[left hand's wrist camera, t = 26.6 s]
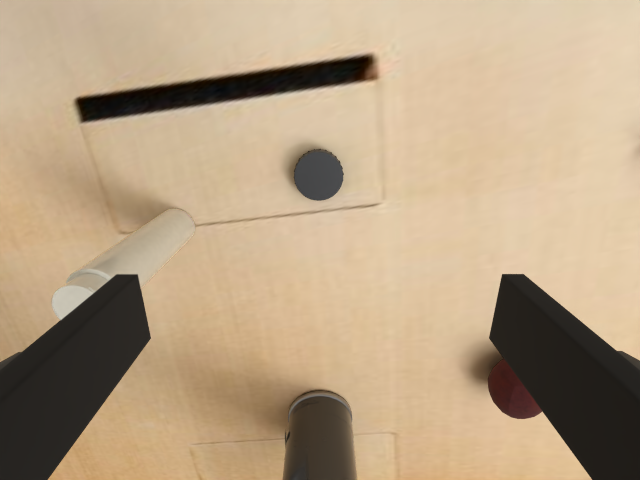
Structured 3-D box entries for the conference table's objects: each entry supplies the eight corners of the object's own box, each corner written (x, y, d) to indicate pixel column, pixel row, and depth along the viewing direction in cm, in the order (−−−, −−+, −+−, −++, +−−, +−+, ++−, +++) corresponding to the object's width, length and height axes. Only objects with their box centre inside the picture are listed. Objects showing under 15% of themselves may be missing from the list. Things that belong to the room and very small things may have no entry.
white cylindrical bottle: (182, 249, 43) (90, 344, 26) (151, 227, 42) (35, 310, 25) (202, 224, 42) (120, 305, 25) (171, 200, 41) (64, 269, 24)
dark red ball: (477, 391, 51) (500, 433, 44) (481, 347, 48) (507, 384, 42) (528, 387, 51) (559, 429, 44) (535, 343, 48) (570, 381, 41)
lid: (344, 150, 39) (345, 152, 37) (340, 198, 41) (341, 202, 39) (295, 147, 39) (294, 149, 37) (294, 195, 41) (292, 199, 39)
